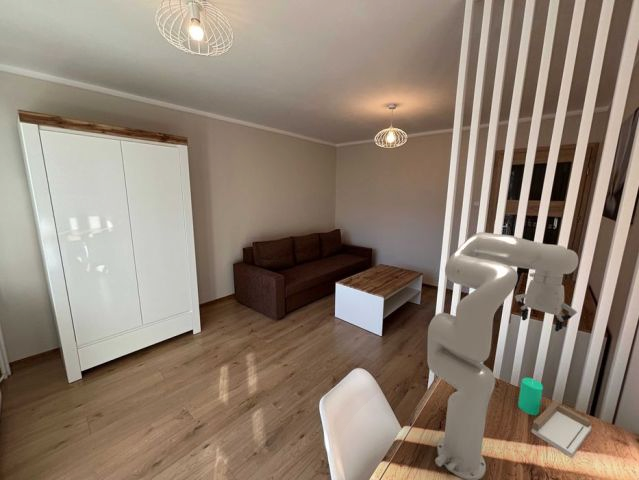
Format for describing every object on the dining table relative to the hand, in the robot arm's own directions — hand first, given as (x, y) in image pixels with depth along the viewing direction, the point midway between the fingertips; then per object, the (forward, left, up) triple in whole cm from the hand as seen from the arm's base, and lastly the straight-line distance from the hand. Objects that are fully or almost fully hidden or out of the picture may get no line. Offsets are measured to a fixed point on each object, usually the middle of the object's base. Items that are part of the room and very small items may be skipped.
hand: (540, 324), depth 96 cm
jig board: (-7, -12, -31) cm, 34 cm away
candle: (-5, -2, -31) cm, 32 cm away
